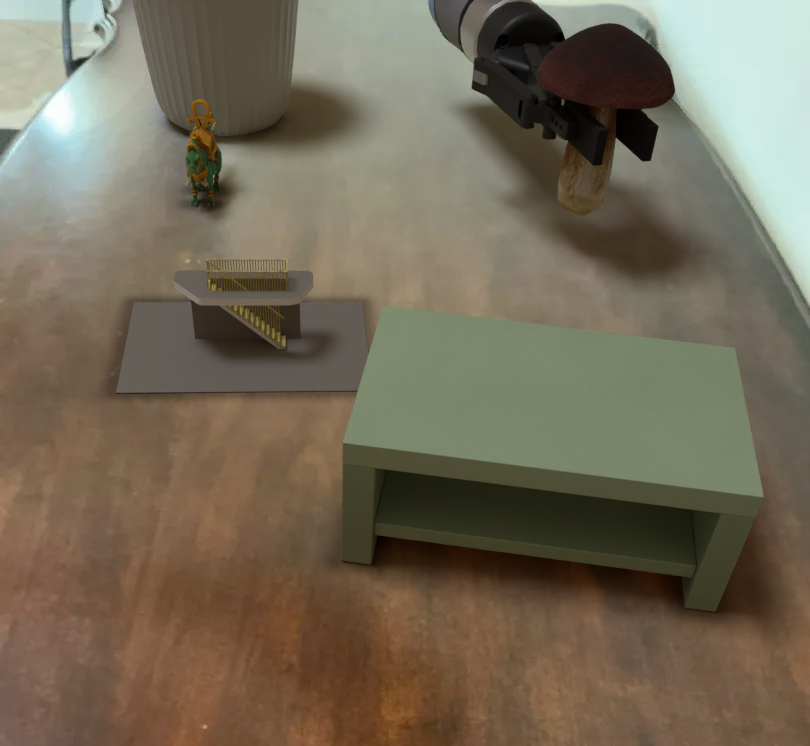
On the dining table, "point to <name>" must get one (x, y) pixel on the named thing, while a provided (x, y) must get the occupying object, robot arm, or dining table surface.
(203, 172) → the figurine
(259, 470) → the dining table surface
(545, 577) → the dining table surface
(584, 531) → the shelf
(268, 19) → the canister
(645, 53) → the decorative mushroom
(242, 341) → the platform
